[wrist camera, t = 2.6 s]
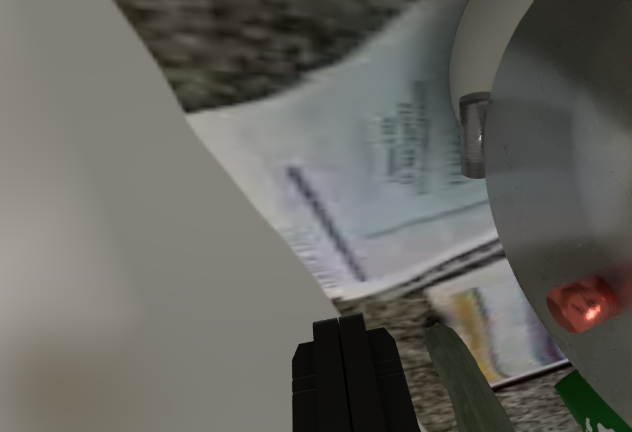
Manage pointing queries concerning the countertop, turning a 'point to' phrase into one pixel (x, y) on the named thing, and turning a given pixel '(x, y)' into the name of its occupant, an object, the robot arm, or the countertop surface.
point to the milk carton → (589, 406)
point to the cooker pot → (481, 45)
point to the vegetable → (465, 383)
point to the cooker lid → (565, 178)
